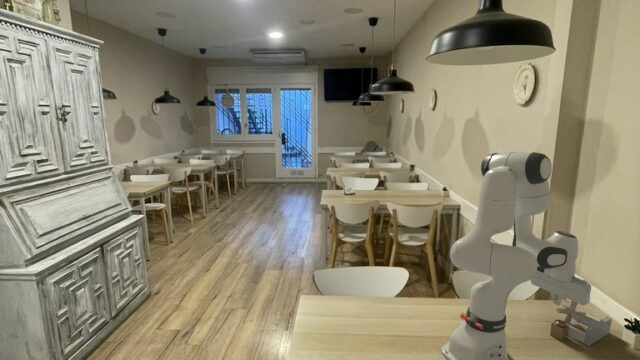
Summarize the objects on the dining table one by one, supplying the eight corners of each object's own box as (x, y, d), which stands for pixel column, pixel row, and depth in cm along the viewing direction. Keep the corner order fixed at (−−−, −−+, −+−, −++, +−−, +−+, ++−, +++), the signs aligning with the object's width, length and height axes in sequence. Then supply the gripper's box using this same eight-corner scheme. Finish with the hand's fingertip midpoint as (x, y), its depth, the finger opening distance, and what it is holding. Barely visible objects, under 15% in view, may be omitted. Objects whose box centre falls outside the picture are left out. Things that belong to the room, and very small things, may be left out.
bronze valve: (561, 341, 124) (563, 327, 123) (549, 335, 127) (551, 321, 126) (567, 337, 126) (569, 323, 125) (556, 332, 129) (557, 318, 128)
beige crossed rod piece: (572, 315, 139) (580, 294, 136) (588, 333, 129) (597, 311, 126) (546, 312, 139) (554, 291, 136) (561, 330, 130) (569, 308, 127)
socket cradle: (588, 346, 121) (591, 330, 120) (554, 328, 131) (555, 314, 130) (609, 333, 128) (611, 318, 127) (575, 317, 138) (577, 303, 137)
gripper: (596, 280, 127) (590, 314, 130) (538, 260, 144) (535, 290, 147) (587, 285, 124) (582, 319, 127) (530, 264, 141) (526, 294, 144)
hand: (556, 303), depth 137 cm, fingers closed
